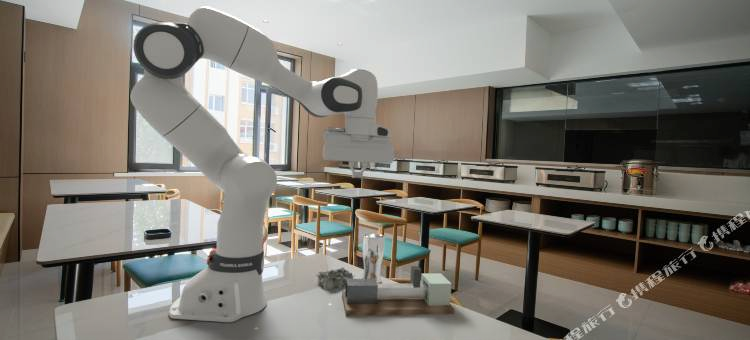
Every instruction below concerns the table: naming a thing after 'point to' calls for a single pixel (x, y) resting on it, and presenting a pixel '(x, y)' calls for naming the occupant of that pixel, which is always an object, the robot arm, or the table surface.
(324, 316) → the table surface
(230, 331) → the table surface
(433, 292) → the socket
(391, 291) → the light grey bar piece
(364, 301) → the sleeve
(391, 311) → the base board
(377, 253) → the beer glass
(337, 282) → the egg carton
